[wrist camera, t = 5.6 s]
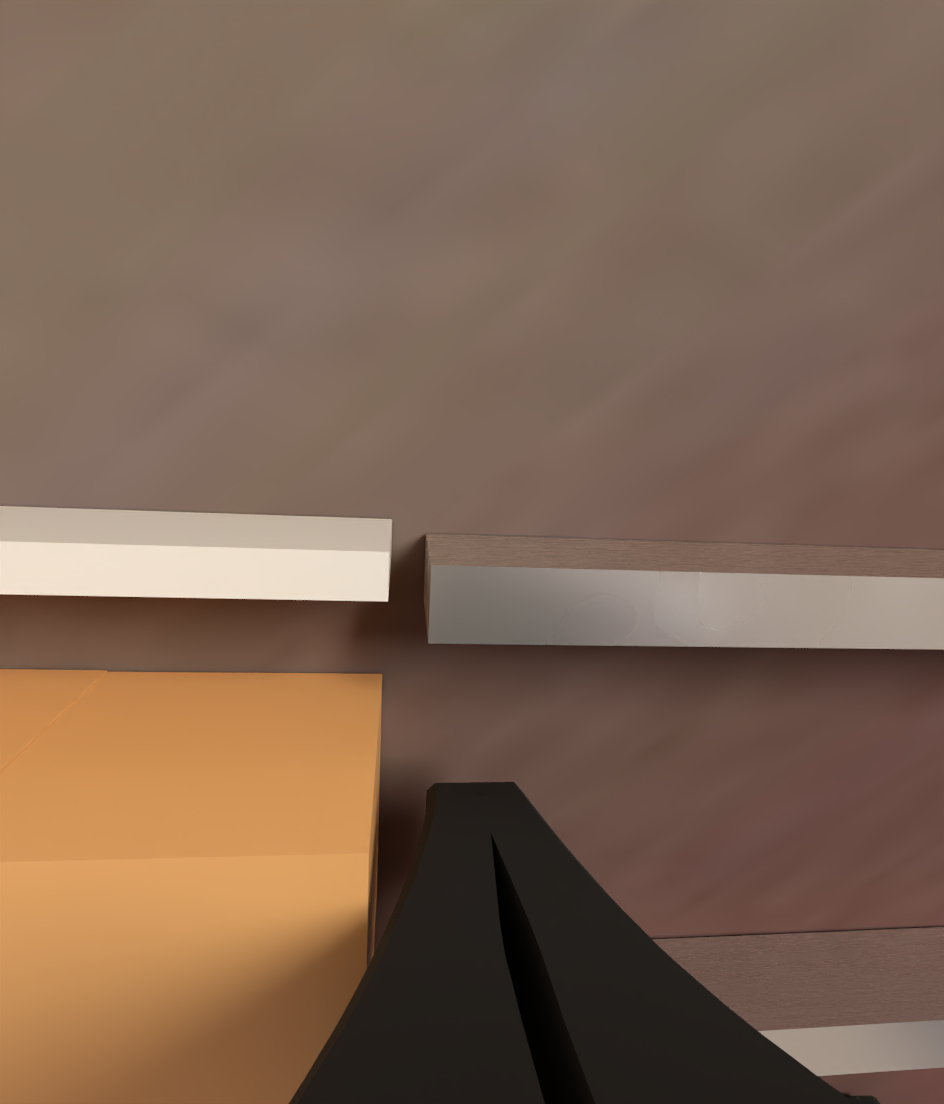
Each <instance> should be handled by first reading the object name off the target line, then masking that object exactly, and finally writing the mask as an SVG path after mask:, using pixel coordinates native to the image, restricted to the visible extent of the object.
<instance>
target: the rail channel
mask: <svg viewBox="0 0 944 1104" xmlns="http://www.w3.org/2000/svg"><path fill="white" fill-rule="evenodd" d="M424 608H425V618H426V628H427V638H428V644H511V645H597V646H684V647H770V648H857V649H943V650H944V550H936V549H903V548H871V547H839V546H807V545H774V544H742V543H710V542H678V541H645V540H613V539H581V538H549V537H516V536H484V535H452V534H426V546H425V572H424ZM652 940H653V941H654V942H655V943H656V944H657V945H658V946H659V947H660V948H661V949H662V950H663V951H665V952H666V953H667V954H668V955H669V956H670V957H671V958H672V959H673V960H674V961H675V962H676V963H678V964H679V965H680V966H681V967H682V968H683V969H685V970H686V971H687V972H688V973H689V974H690V975H691V976H693V977H694V978H695V979H696V980H697V981H698V982H700V983H701V984H702V985H703V986H704V987H705V988H706V989H708V990H709V991H710V992H711V993H712V994H713V995H715V996H716V997H717V998H718V999H719V1000H720V1001H721V1002H723V1003H724V1004H725V1005H726V1006H727V1007H729V1008H730V1009H731V1010H732V1011H733V1012H735V1013H736V1014H737V1015H738V1016H740V1017H741V1018H742V1019H743V1020H745V1021H746V1022H747V1023H748V1024H750V1025H751V1026H752V1027H753V1028H755V1029H756V1030H757V1031H758V1032H760V1033H761V1034H762V1035H764V1036H765V1037H766V1038H768V1039H769V1040H770V1041H772V1042H773V1043H774V1044H776V1045H777V1046H778V1047H780V1048H781V1049H782V1050H784V1051H785V1052H786V1053H788V1054H789V1055H790V1056H791V1057H793V1058H794V1059H795V1060H797V1061H798V1062H799V1063H801V1064H802V1065H803V1066H805V1067H806V1068H807V1069H809V1070H810V1071H811V1072H813V1073H814V1074H815V1075H817V1076H825V1075H840V1074H854V1073H868V1072H883V1071H897V1070H911V1069H925V1068H940V1067H944V927H931V928H908V929H884V930H861V931H837V932H814V933H790V934H767V935H743V936H720V937H696V938H673V939H652Z"/></svg>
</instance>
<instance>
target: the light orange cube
mask: <svg viewBox="0 0 944 1104" xmlns="http://www.w3.org/2000/svg"><path fill="white" fill-rule="evenodd" d="M381 708H382V674H342V673H212V672H107V673H106V674H105V675H104V676H103V677H102V678H101V679H99V680H98V681H97V682H96V683H95V684H94V685H93V686H92V687H91V688H90V689H89V690H88V691H87V692H86V693H85V694H84V695H82V696H81V697H80V698H79V699H78V700H77V701H76V702H75V703H74V704H73V705H72V706H71V707H70V708H69V709H68V710H67V711H65V712H64V713H63V714H62V715H61V716H60V717H59V718H58V719H57V720H56V721H55V722H54V723H53V724H52V725H51V726H50V727H49V728H47V729H46V730H45V731H44V732H43V733H42V734H41V735H40V736H39V737H38V738H37V739H36V740H35V741H34V742H33V743H32V744H30V745H29V746H28V747H27V748H26V749H25V750H24V751H23V752H22V753H21V754H20V755H19V756H18V757H17V758H16V759H15V760H13V761H12V762H11V763H10V764H9V765H8V766H7V767H6V768H5V769H4V770H3V771H2V772H1V773H0V1104H289V1102H290V1101H291V1099H292V1098H293V1096H294V1094H295V1093H296V1091H297V1090H298V1088H299V1087H300V1085H301V1083H302V1082H303V1080H304V1079H305V1077H306V1075H307V1074H308V1072H309V1070H310V1069H311V1067H312V1065H313V1064H314V1062H315V1060H316V1059H317V1057H318V1055H319V1054H320V1052H321V1050H322V1049H323V1047H324V1045H325V1044H326V1042H327V1040H328V1039H329V1037H330V1035H331V1034H332V1032H333V1030H334V1029H335V1027H336V1025H337V1024H338V1022H339V1020H340V1018H341V1017H342V1015H343V1013H344V1011H345V1009H346V1007H347V1006H348V1004H349V1002H350V1000H351V998H352V996H353V994H354V993H355V991H356V989H357V987H358V985H359V983H360V981H361V979H362V977H363V976H364V974H365V972H366V970H367V968H368V966H369V964H370V962H371V960H372V958H373V956H374V940H375V921H376V902H377V871H378V830H379V789H380V748H381Z"/></svg>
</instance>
